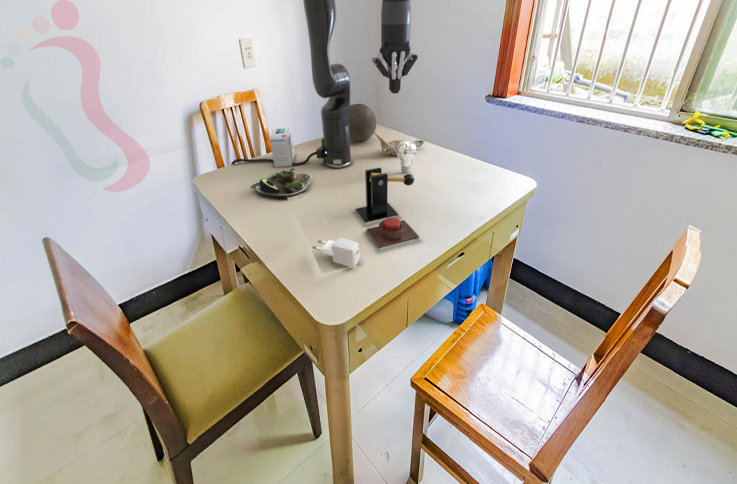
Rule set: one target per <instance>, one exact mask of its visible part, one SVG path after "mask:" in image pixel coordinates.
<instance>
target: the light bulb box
mask: <svg viewBox="0 0 737 484" xmlns="http://www.w3.org/2000/svg"><path fill="white" fill-rule="evenodd" d="M269 143H270V148H271V153H272V159H273V160H274V162H273V166H274V167H275V168H277V167H278V168H279V167H293V166H292V163H294V159H295V149H294V142H293V135H292V129H291V127H286V128H273V129H272V132H271V135H270V137H269Z"/></svg>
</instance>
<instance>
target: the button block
mask: <svg viewBox="0 0 737 484" xmlns="http://www.w3.org/2000/svg"><path fill="white" fill-rule="evenodd" d="M385 220H386V219H382V221H380V222H379V223H378V226H374V227H369V228H366V232H367V234H368V235H369V237H370V238H371V239H372V240H373V242H374V244H375V245H376V246H377V248H379V249H381V248H386V247H389V246H393V245H396V244H397V245H398V244H401V243H405V242H408V241H412V240H417V239H419V238H420V236H419V235H418V233H416V231H415V230H414V229H413V228H412V227H411V226H410V225H409V224H408V223H407V221H406V220H405V219H403V220H400V229H399V230H396V231H388V230H386V229H385Z"/></svg>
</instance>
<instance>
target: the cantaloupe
mask: <svg viewBox="0 0 737 484" xmlns="http://www.w3.org/2000/svg"><path fill="white" fill-rule="evenodd" d="M348 116H349V134H350V140H352V141H354V142H358V143H361V142H367V141H368V140H369V139H370V138H372V137H373V136H374V135H375V132H376V129H377V119H376V115H375V112H374V111H373V110H372V109H371V108H370V107H369V106H367V105H366V104H363V103H353V104H350V108H349V111H348Z"/></svg>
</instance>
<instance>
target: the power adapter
mask: <svg viewBox="0 0 737 484" xmlns="http://www.w3.org/2000/svg"><path fill="white" fill-rule="evenodd" d="M317 244H321V245H323V246H322V247H321V246H317V245H312V247H311V248H312V249H313V250H318V251H320V253H321V254H322V255H326V256H328V257H331V258H332V262H333V263H336V264H340V265H343V266H345V268H348V269H350V270H351V269H355V268H356V266H357V265H358V263H359V262H360V259H361V254H360V253H361V252H360V244H359V243H358V241H355V240H351V239H347V238H343V237H338V238H337V239H336V240H332V239H328V240H327V241H324V240H320V239H318V240H317Z"/></svg>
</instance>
